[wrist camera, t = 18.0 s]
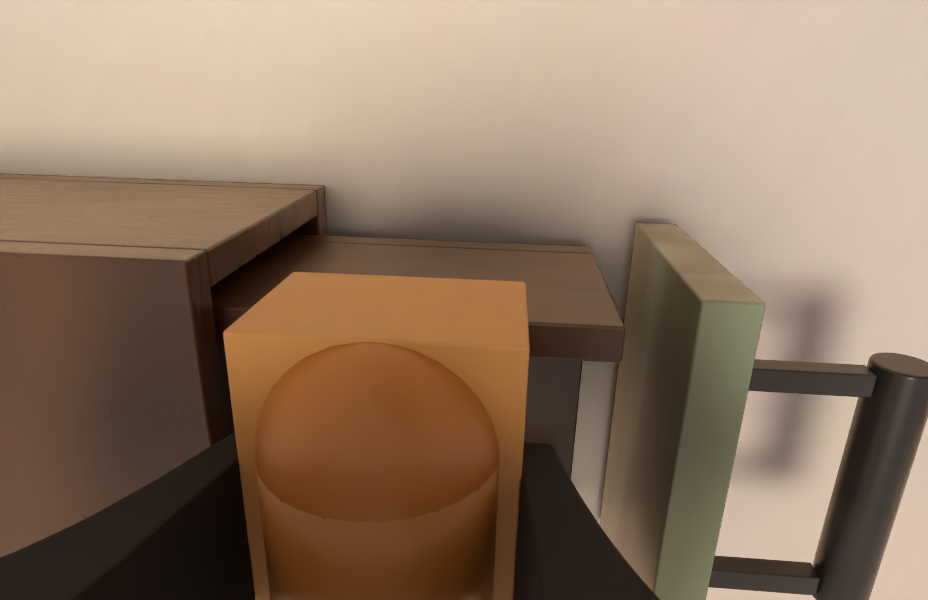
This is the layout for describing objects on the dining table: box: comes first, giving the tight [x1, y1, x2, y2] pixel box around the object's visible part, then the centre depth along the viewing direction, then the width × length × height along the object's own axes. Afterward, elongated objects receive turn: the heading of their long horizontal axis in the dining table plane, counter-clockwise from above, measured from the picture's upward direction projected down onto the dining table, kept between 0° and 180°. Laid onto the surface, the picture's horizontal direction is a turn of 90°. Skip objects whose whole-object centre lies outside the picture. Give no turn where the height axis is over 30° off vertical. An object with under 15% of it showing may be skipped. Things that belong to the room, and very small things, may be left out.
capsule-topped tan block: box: [223, 272, 530, 600], centre depth 10 cm, size 7×4×4 cm, turn 179°
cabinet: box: [0, 174, 327, 557], centre depth 18 cm, size 14×13×9 cm
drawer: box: [210, 223, 928, 600], centre depth 17 cm, size 18×11×7 cm, turn 89°
